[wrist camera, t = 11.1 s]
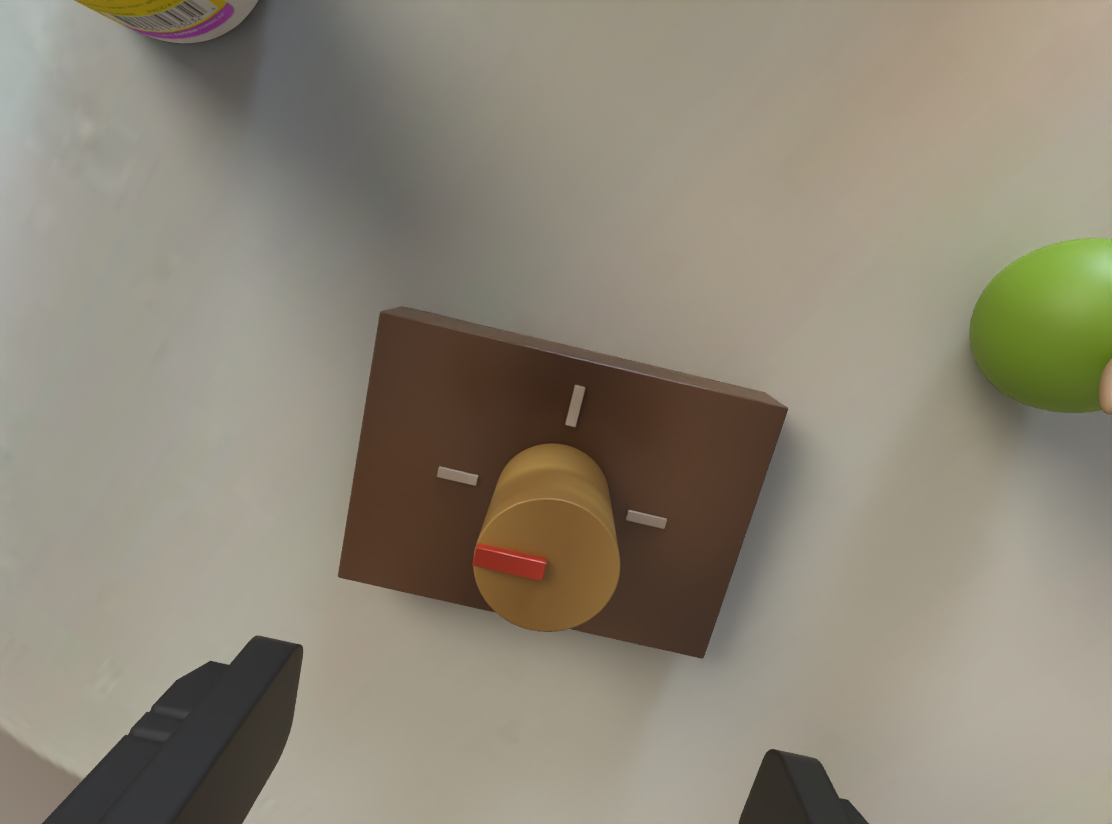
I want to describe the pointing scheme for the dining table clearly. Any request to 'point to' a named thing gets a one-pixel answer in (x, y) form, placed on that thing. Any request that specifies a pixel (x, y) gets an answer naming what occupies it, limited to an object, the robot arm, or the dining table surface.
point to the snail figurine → (1050, 328)
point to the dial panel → (560, 418)
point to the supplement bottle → (175, 17)
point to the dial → (548, 541)
